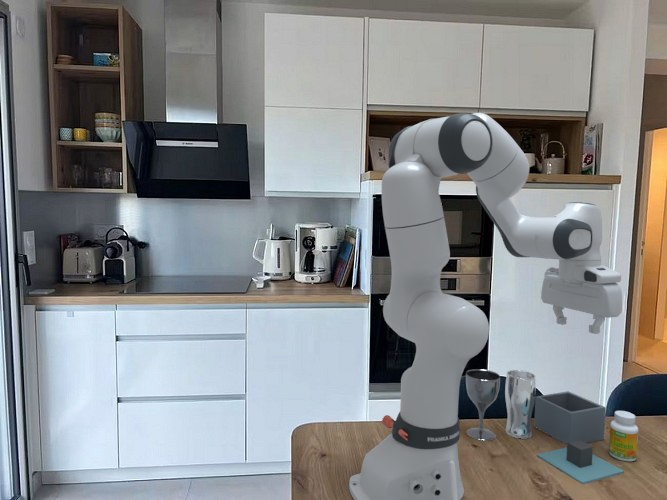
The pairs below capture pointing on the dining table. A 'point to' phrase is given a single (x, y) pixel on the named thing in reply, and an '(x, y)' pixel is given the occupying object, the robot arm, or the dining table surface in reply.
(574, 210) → the robot arm
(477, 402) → the wine glass
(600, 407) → the storage box
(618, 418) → the supplement bottle
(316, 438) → the dining table surface
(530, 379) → the beer glass
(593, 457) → the lid
